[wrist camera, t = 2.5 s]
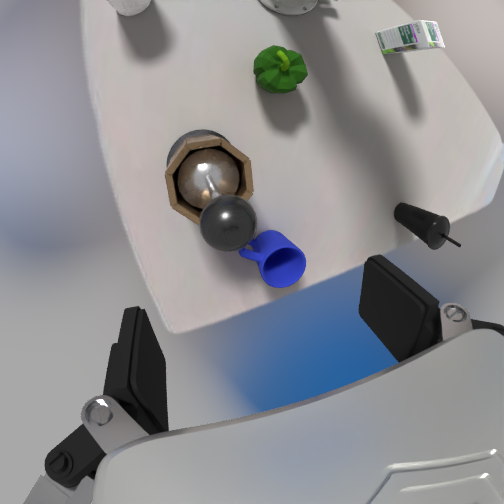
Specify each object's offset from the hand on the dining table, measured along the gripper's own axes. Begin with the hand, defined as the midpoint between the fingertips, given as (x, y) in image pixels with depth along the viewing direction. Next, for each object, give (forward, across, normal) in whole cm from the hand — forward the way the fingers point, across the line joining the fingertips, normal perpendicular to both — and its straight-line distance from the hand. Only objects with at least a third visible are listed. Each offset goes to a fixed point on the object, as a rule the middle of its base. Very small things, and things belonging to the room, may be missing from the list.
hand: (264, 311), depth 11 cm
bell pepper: (+41, -14, -16) cm, 46 cm away
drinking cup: (+42, -45, +16) cm, 63 cm away
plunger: (+26, 0, 0) cm, 26 cm away
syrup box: (+41, -42, -26) cm, 64 cm away
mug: (+42, -9, +16) cm, 46 cm away
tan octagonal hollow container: (+41, 0, +1) cm, 41 cm away
